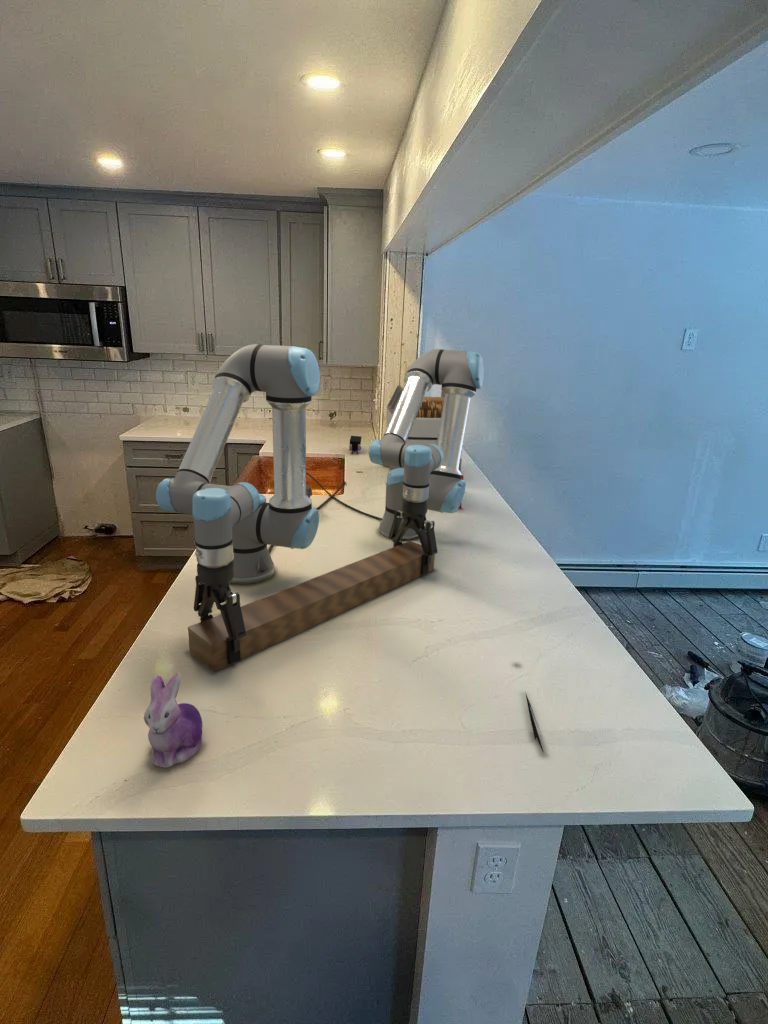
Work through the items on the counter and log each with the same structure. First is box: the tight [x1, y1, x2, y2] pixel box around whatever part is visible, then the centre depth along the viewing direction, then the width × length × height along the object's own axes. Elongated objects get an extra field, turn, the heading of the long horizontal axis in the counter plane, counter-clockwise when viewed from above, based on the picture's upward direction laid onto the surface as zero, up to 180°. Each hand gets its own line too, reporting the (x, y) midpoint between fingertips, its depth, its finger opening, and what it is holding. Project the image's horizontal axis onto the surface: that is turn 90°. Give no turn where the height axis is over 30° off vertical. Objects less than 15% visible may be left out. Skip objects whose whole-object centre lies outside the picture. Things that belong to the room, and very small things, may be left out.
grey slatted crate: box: [383, 384, 463, 472], centre depth 268 cm, size 34×33×41 cm
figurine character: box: [348, 435, 363, 455], centre depth 309 cm, size 7×8×15 cm
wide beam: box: [187, 540, 436, 673], centre depth 149 cm, size 75×10×7 cm, turn 137°
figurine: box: [143, 672, 203, 768], centre depth 97 cm, size 9×10×15 cm
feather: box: [525, 691, 547, 753], centre depth 115 cm, size 2×28×2 cm
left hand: (221, 651), depth 127 cm, fingers closed on wide beam, 10 cm apart
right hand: (410, 567), depth 173 cm, fingers closed on wide beam, 10 cm apart
